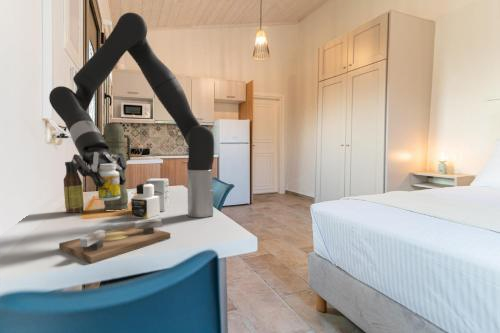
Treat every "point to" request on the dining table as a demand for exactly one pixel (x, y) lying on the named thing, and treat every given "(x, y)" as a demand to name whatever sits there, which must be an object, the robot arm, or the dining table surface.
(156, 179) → the supplement box
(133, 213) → the medicine bottle
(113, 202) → the thermos
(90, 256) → the shaft board
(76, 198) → the sauce bottle
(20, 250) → the dining table surface
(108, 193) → the supplement bottle
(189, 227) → the dining table surface
